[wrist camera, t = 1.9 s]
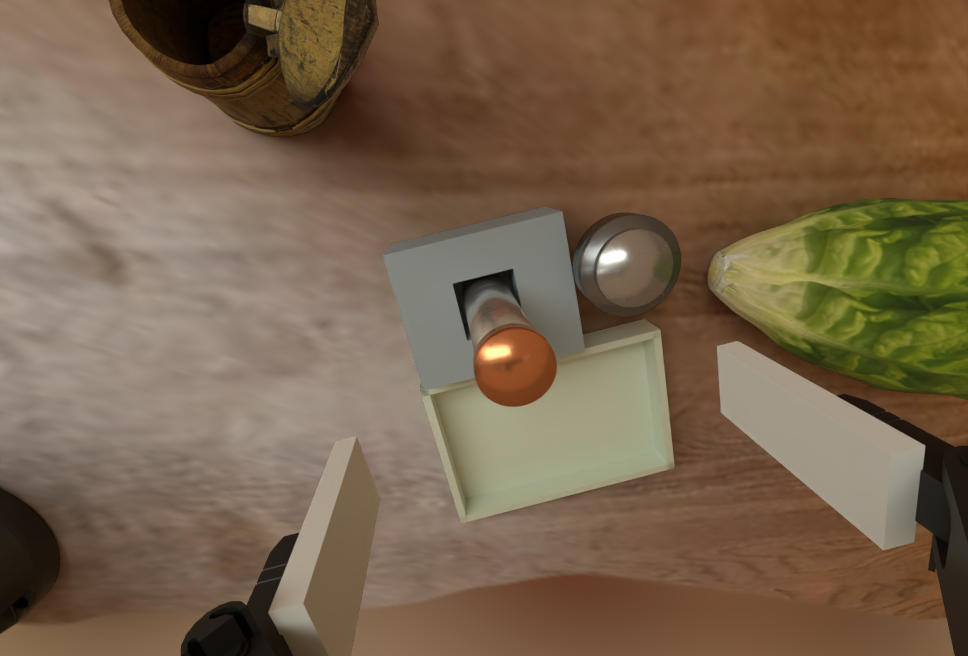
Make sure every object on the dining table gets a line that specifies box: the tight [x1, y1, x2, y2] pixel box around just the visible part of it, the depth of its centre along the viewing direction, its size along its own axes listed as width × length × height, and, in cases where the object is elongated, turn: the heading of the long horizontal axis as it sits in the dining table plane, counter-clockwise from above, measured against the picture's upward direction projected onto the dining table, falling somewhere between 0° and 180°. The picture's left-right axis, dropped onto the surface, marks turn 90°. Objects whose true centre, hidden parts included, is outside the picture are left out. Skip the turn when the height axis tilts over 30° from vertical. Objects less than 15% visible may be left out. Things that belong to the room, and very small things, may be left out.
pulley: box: [573, 213, 681, 317], centre depth 32 cm, size 6×6×8 cm
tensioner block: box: [383, 207, 585, 391], centre depth 34 cm, size 12×10×5 cm
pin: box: [462, 273, 557, 407], centre depth 28 cm, size 4×4×15 cm
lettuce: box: [707, 198, 968, 400], centre depth 33 cm, size 14×23×13 cm, turn 82°
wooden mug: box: [109, 0, 379, 137], centre depth 22 cm, size 9×14×18 cm, turn 75°
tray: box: [420, 319, 675, 523], centre depth 39 cm, size 19×13×3 cm
